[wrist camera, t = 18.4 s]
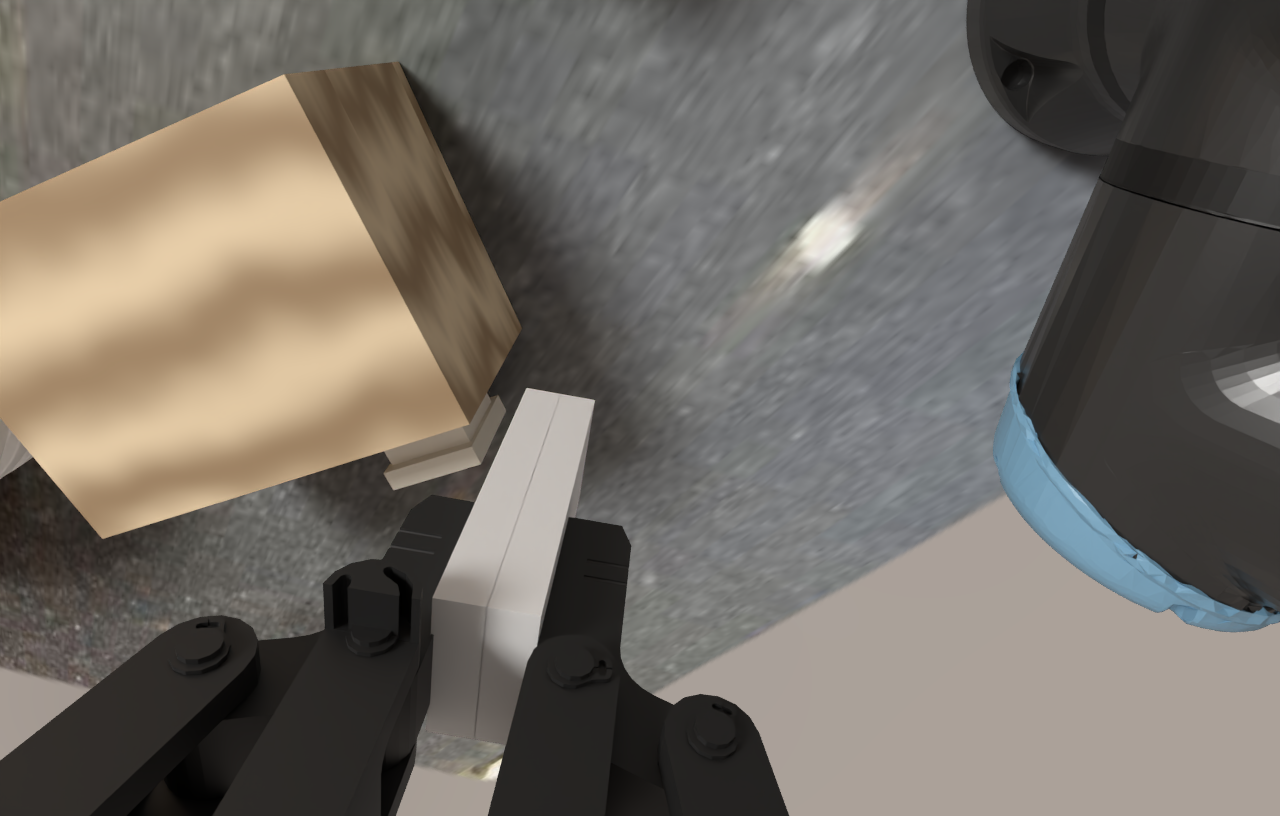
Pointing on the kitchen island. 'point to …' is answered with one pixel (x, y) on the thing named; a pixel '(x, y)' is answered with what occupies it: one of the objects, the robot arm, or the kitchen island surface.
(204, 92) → the kitchen island surface
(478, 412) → the cream plug
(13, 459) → the plate stack
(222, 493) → the wooden box
